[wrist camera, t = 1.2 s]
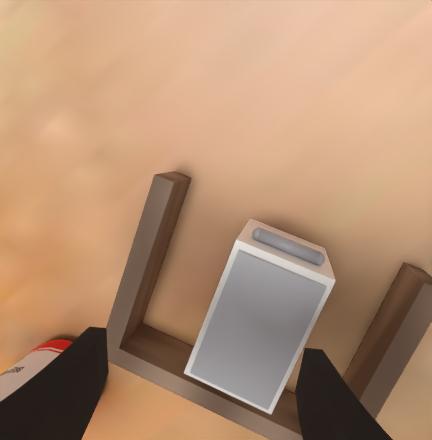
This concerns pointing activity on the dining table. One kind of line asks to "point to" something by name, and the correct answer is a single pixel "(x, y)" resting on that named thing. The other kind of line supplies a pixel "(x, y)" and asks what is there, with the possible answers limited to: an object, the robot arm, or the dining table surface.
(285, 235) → the white box with handle
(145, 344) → the bay
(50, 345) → the beer can
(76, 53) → the dining table surface
